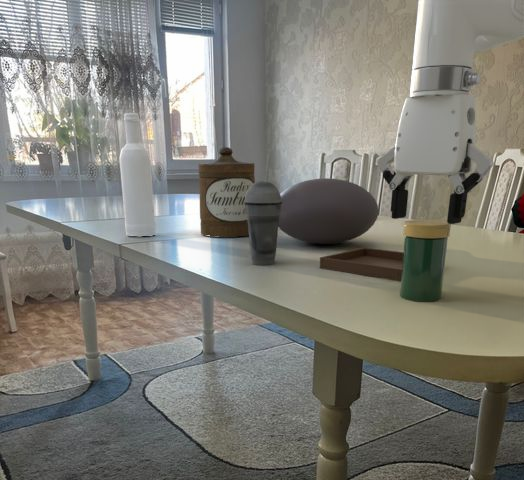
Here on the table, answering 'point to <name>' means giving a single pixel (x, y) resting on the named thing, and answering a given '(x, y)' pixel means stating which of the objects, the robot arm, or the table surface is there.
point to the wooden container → (224, 195)
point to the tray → (366, 263)
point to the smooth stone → (326, 211)
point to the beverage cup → (263, 220)
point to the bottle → (136, 181)
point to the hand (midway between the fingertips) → (425, 219)
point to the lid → (427, 229)
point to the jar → (423, 268)
